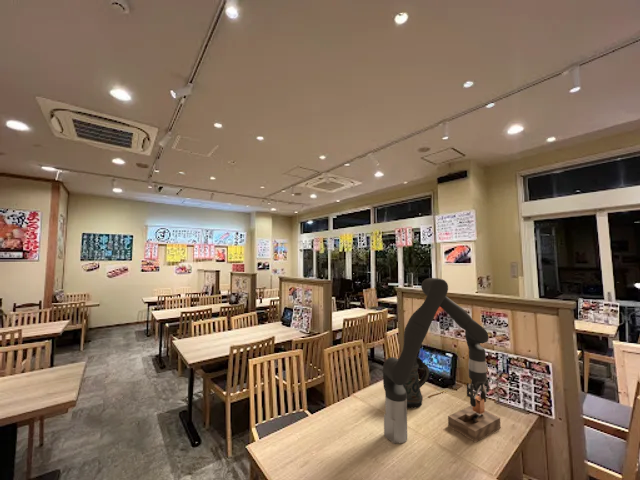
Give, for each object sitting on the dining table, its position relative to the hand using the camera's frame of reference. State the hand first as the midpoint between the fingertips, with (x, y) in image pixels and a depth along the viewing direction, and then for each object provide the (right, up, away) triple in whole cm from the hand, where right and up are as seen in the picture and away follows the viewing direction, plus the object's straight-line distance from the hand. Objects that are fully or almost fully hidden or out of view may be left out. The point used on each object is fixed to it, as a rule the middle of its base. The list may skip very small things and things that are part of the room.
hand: (478, 403), depth 130 cm
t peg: (0, -9, 0) cm, 9 cm away
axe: (-3, -12, +31) cm, 34 cm away
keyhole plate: (-3, -9, -2) cm, 10 cm away
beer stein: (-26, -11, +21) cm, 36 cm away
